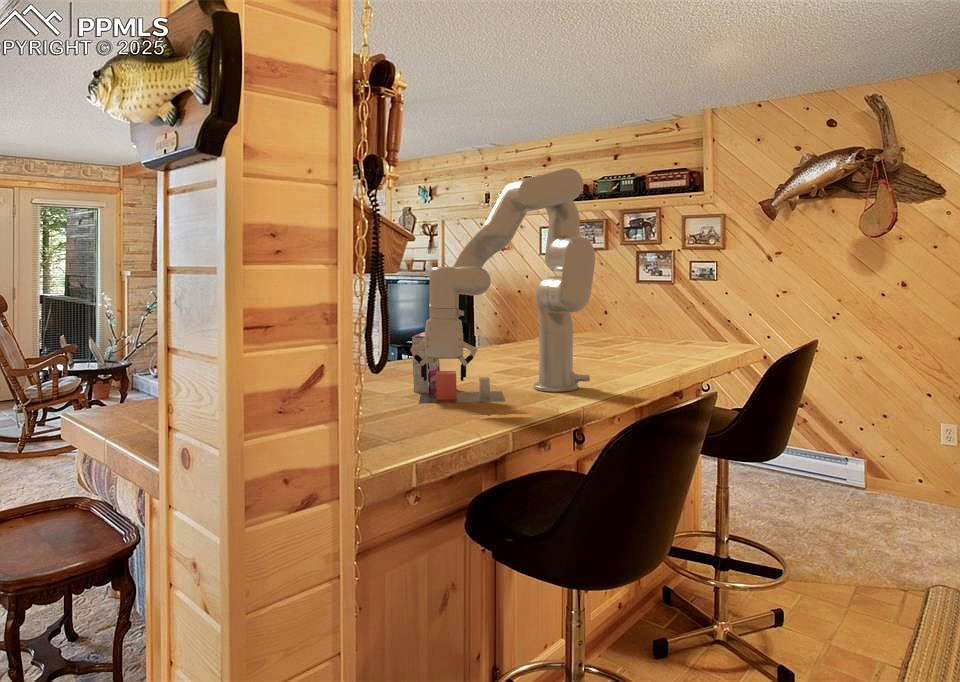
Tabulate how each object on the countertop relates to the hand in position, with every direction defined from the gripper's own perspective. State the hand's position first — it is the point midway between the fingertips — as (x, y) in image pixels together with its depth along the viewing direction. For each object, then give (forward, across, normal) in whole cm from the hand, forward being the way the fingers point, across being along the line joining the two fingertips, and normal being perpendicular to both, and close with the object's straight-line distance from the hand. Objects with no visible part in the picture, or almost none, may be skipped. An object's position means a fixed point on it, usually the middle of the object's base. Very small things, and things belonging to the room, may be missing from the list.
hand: (443, 380), depth 170 cm
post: (+5, -5, 0) cm, 7 cm away
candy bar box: (+6, +5, -13) cm, 15 cm away
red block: (+5, -1, 0) cm, 5 cm away
